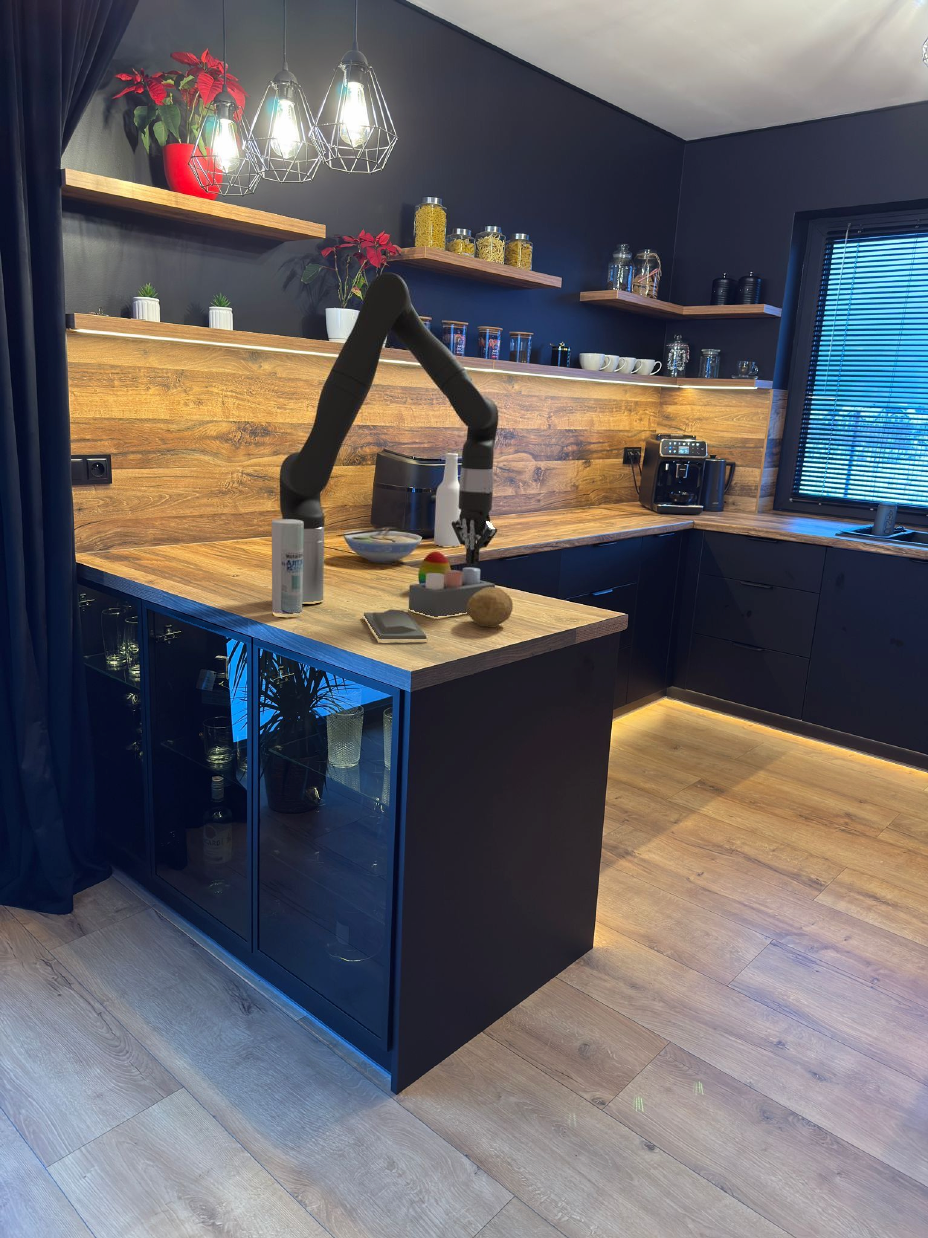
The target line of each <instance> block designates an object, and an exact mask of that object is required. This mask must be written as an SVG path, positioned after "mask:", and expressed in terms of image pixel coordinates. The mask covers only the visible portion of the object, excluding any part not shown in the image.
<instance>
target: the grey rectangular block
mask: <svg viewBox="0 0 928 1238" xmlns="http://www.w3.org/2000/svg"><path fill="white" fill-rule="evenodd" d="M487 587H495V588H496V583H492V582H489V581H484V580H481V579H480V583H479V584H473V585H469V584H465V583H462V586H459V587H449V586H445V585H444V589H438V590H432V589H428V588H426V583H421V584H419V583H413V584H409V592H408V593H409V594H408V610H409V609H410V610H414V611H415V612H419V613H423V614H425V615H430V616H434V617H438V616H447V615H455V614H459V613H466V612H467V608H466V605H467V603H468V601H469V599H470V598H471V597H472V596H473V595H474V594H475V593H477V592H478V591H480V590H482V589H484V588H487Z"/></svg>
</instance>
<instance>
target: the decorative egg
mask: <svg viewBox="0 0 928 1238" xmlns="http://www.w3.org/2000/svg"><path fill="white" fill-rule="evenodd" d="M447 570H452V569H451V566H450V563H449V561H448V559H447V557H445V555H444V554H443V553H441V552H440V551H431V552H429V553H428V554H427V555H426V556H425V557H424V558H423V560H422V562H421V563H420V565H419V570H418V577H417V578H418V584H421V583H426V574H428V573H440V574H444V578H445V571H447Z"/></svg>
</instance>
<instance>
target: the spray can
mask: <svg viewBox="0 0 928 1238" xmlns="http://www.w3.org/2000/svg"><path fill="white" fill-rule="evenodd" d="M303 528H304V523H303V521H301V520H294V519H282V518H278V519H273V520H271V612H272V611H273V612H275V613H282V614H293V613H300V612H302V613H303V605H302V585H303Z"/></svg>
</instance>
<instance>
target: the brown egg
mask: <svg viewBox="0 0 928 1238" xmlns="http://www.w3.org/2000/svg"><path fill="white" fill-rule="evenodd" d="M462 575H463V570H457V569H456V570H455V569H454V570H453V569H451V570H447V571H445V578H444V585H445V586H449V587H459V586H462Z"/></svg>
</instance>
